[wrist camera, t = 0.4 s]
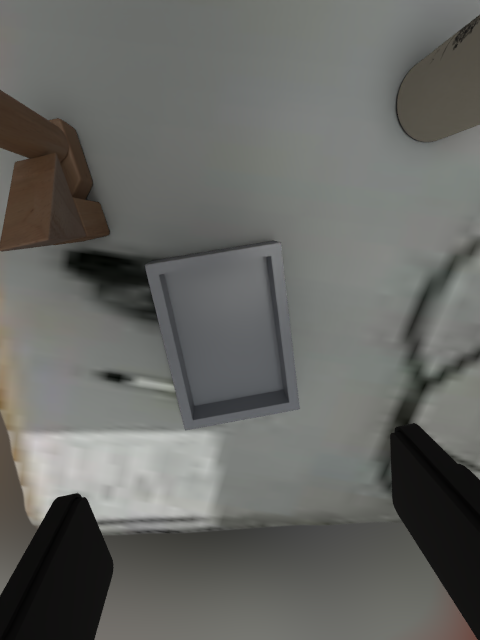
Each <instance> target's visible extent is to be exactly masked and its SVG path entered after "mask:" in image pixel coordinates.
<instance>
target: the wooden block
mask: <svg viewBox="0 0 480 640" xmlns="http://www.w3.org/2000/svg"><path fill="white" fill-rule="evenodd" d="M0 148H3V149H5V150H8V151H11V152H14V153H16V154H19V155H22V156H25V157H27V158H30V159H26V160H22V161H17V162H15V165H14V170H13V176H12V181H11V187H10V192H9V197H8V203H7V208H6V214H5V219H4V225H3V230H2V236H1V241H0V251H9V250H17V249H25V248H33V247H41V246H49V245H58V244H66V243H74V242H82V241H86V240H91V239H95V238H99V237H103V236H108V235H109V232H110V231H109V229H108V226H107V223H106V220H105V217H104V214H103V211H102V208H101V205H100V203H99V202H94V201H89V200H86V198H87V195H88V193H89V191H90V189H91V187H92V185H93V181H92V178H91V175H90V172H89V169H88V166H87V163H86V160H85V157H84V154H83V151H82V148H81V145H80V142H79V139H78V136H77V133H76V130H75V129H74V128H73V127H71V126H70V125H69V124H67V123H66V122H64V121H63V120H61V119H59V118H57V119H53V120H47V119H45V118H44V117H42V116H40V115H39V114H37V113H36V112H34V111H33V110H31V109H29V108H28V107H26V106H25V105H23V104H22V103H20V102H19V101H17V100H15V99H14V98H12V97H11V96H9V95H8V94H6V93H4V92H3V91H1V90H0Z"/></svg>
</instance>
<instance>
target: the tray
mask: <svg viewBox="0 0 480 640" xmlns="http://www.w3.org/2000/svg"><path fill="white" fill-rule="evenodd" d="M145 268H146V273H147V277H148V281H149V285H150V289H151V293H152V297H153V301H154V305H155V309H156V314H157V318H158V322H159V326H160V330H161V334H162V338H163V342H164V346H165V350H166V355H167V359H168V363H169V367H170V371H171V375H172V379H173V383H174V387H175V391H176V396H177V400H178V404H179V408H180V412H181V416H182V420H183V424H184V428H185V430H190V429H195V428H201V427H206V426H212V425H217V424H222V423H228V422H233V421H239V420H244V419H249V418H255V417H260V416H266V415H271V414H276V413H282V412H287V411H293V410H298V409H300V406H299V398H298V389H297V380H296V371H295V362H294V353H293V345H292V336H291V327H290V318H289V309H288V301H287V292H286V283H285V274H284V265H283V257H282V248H281V242H277V241H269V242H263V243H257V244H251V245H245V246H239V247H233V248H227V249H221V250H215V251H209V252H203V253H197V254H191V255H185V256H179V257H173V258H166V259H160V260H154V261H151V262H149V263H147V264H146V265H145Z"/></svg>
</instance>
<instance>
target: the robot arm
mask: <svg viewBox="0 0 480 640" xmlns="http://www.w3.org/2000/svg"><path fill="white" fill-rule="evenodd" d="M390 444H391V472H392V499H393V504H394V507H395V509H396V512H397V513H398V515H399V517H400V518H401V520H402V521H403V523H404V524H405V526H406V528H407V529H408V531H409V532H410V534H411V535H412V537H413V539H414V540H415V541H416V543H417V545H418V546H419V548H420V550H421V551H422V553H423V554H424V556H425V557H426V559H427V561H428V562H429V564H430V565H431V567H432V568H433V570H434V572H435V573H436V575H437V576H438V578H439V579H440V581H441V583H442V584H443V586H444V587H445V589H446V590H447V592H448V594H449V595H450V597H451V598H452V600H453V601H454V603H455V604H456V606H457V608H458V609H459V611H460V612H461V614H462V616H463V617H464V619H465V620H466V622H467V623H468V625H469V626H470V628H471V630H472V631H473V633H474V634H475V636H476V638H477V639H478V640H480V480H479V479H478V478H477V477H476V476H475V475H474V474H473V473H472V472H471V471H470V470H469V469H467V468H466V467H465V466H463V465H461V464H457V463H456V462H455V461H454V460H453V459H452V458H451V457H450V456H449V455H448V454H447V453H446V452H445V451H444V450H443V449H442V448H441V447H440V446H439V445H438V444H437V443H436V442H435V441H434V440H433V439H432V438H431V437H430V436H429V435H428V434H427V433H426V432H425V431H424V430H423V429H422V428H421V427H420V426H418V425H417V424H415V423H413V424H408V425H404V426H399V427H396V428H395V433H391V435H390ZM112 574H113V560H112V557H111V555H110V553H109V550H108V548H107V545H106V543H105V541H104V538H103V536H102V533H101V531H100V529H99V526H98V524H97V522H96V519H95V517H94V514H93V512H92V510H91V507H90V505H89V502H88V500H87V499H86V498H85V497H83V498H82V497H81V495H80V494H78V493H76V494H71V495H66V496H62V497H58V498H56V499H55V500H54V502H53V503H52V505H51V507H50V509H49V510H48V512H47V514H46V516H45V518H44V519H43V521H42V523H41V525H40V526H39V528H38V530H37V532H36V533H35V535H34V537H33V539H32V541H31V542H30V545H29V546H28V548H27V549H26V551H25V553H24V555H23V556H22V558H21V560H20V562H19V564H18V565H17V567H16V569H15V571H14V573H13V574H12V576H11V578H10V579H9V582H8V583H7V585H6V587H5V588H4V590H3V592H2V594H1V595H0V640H94V638H95V635H96V631H97V628H98V624H99V621H100V617H101V613H102V610H103V606H104V603H105V599H106V596H107V592H108V589H109V585H110V582H111V578H112Z"/></svg>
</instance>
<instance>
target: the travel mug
mask: <svg viewBox="0 0 480 640" xmlns="http://www.w3.org/2000/svg"><path fill="white" fill-rule="evenodd" d="M397 112H398V117H399V120H400V123H401V125H402V127H403V129H404V130H405V131H406V133H407V134H408V135H410V136H411V137H412V138H414V139H416V140H418V141H422V142H433V141H437V140H440V139H442V138H445V137H448V136H450V135H453V134H456V133H458V132H461V131H464V130H466V129H469V128H472V127H474V126H477V125H480V15H479V16H478V17H476V18H475V19H474V20H472V21H471V22H470V23H469V24H467V25H466V26H465V27H464V28H462V29H461V30H460V31H458V32H457V33H456V34H455V35H453V36H452V37H451V38H449V39H448V40H447V41H446V42H444V43H443V44H442V45H441V46H439V47H438V48H437V49H435V50H434V51H433V52H432V53H430V54H429V55H428V56H427V57H425V58H424V59H423V60H421V61H420V62H419V63H418V64H416V65H415V66H414V67H413V68H412V69H411V70H410V71H409V73H408V74H407V75H406V77H405V78H404V80H403V82H402V85H401V87H400V90H399V94H398V100H397Z"/></svg>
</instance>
